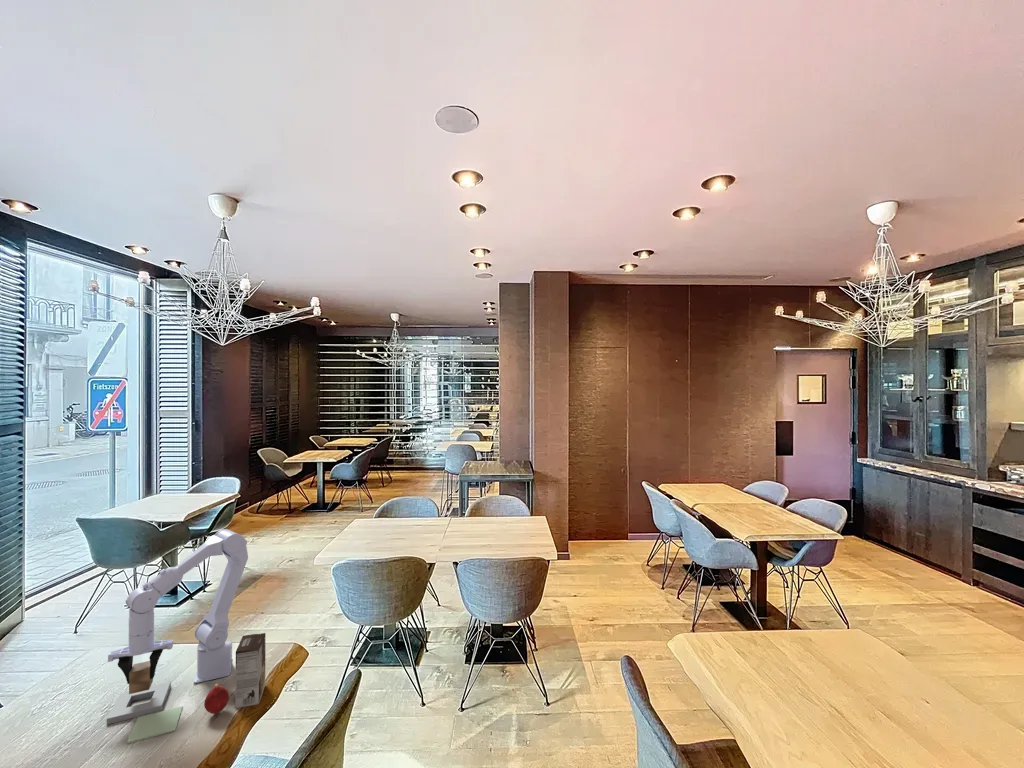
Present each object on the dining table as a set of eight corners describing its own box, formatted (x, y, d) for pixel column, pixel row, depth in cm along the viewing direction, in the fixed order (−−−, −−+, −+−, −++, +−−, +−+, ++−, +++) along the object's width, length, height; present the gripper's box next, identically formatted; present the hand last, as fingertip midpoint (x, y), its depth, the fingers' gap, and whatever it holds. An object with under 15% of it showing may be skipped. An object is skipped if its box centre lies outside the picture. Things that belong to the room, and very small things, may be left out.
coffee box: (242, 689, 139) (242, 635, 139) (266, 685, 141) (266, 631, 141) (234, 709, 130) (234, 651, 131) (259, 704, 132) (260, 647, 133)
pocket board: (170, 686, 140) (170, 681, 140) (161, 710, 130) (161, 705, 130) (120, 697, 135) (120, 692, 135) (106, 724, 124) (106, 718, 124)
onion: (233, 709, 130) (234, 680, 131) (214, 722, 125) (215, 693, 125) (218, 704, 132) (218, 676, 132) (199, 717, 127) (199, 688, 127)
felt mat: (182, 707, 131) (182, 706, 131) (175, 731, 122) (175, 729, 122) (138, 718, 127) (138, 717, 127) (127, 743, 118) (127, 742, 118)
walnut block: (152, 680, 135) (153, 660, 136) (148, 689, 131) (149, 668, 132) (133, 685, 133) (133, 664, 134) (128, 694, 129) (129, 672, 130)
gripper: (175, 619, 139) (175, 664, 139) (113, 630, 133) (113, 678, 133) (170, 630, 133) (170, 678, 133) (105, 643, 127) (105, 692, 127)
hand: (141, 679), depth 133 cm, fingers closed on walnut block, 4 cm apart
